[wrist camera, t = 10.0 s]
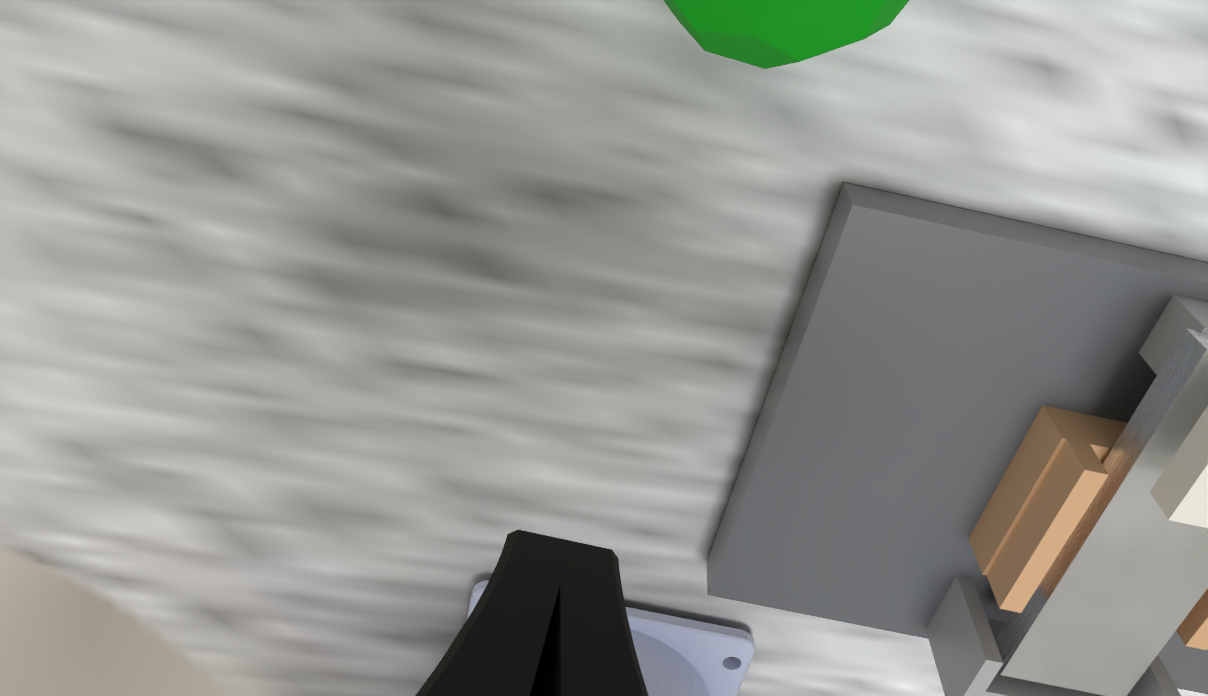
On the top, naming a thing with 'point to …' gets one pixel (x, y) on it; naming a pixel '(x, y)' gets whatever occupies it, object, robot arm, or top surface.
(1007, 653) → the grey flat bar
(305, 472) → the top surface
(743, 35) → the polyhedron
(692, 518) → the top surface
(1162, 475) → the latch
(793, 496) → the mount board
